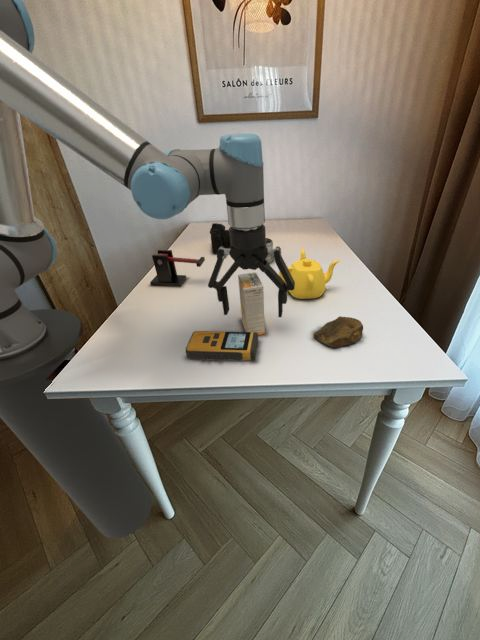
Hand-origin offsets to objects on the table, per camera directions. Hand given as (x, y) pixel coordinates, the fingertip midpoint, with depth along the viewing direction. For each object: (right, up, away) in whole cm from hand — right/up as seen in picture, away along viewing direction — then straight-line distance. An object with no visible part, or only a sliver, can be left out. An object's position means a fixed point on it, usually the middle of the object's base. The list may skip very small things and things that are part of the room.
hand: (253, 313), depth 77 cm
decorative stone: (+20, -6, -2) cm, 21 cm away
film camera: (-13, +32, +48) cm, 59 cm away
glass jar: (+3, +23, +35) cm, 42 cm away
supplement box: (0, -3, +3) cm, 4 cm away
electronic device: (-7, -9, -5) cm, 12 cm away
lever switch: (-23, +18, +20) cm, 35 cm away
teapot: (+16, +9, +17) cm, 25 cm away
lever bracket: (-28, +13, +25) cm, 40 cm away
